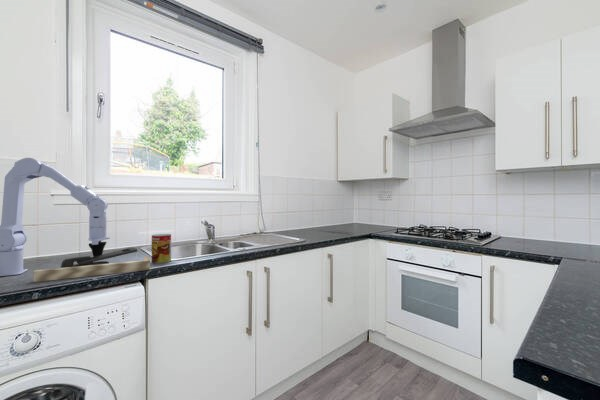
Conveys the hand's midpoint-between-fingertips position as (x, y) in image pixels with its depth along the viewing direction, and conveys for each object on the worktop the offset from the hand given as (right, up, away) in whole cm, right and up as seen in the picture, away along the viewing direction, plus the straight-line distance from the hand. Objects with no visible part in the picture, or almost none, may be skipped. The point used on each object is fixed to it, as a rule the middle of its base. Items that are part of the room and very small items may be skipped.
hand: (97, 260), depth 113 cm
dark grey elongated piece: (+4, -3, -3) cm, 5 cm away
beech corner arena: (+7, -3, -9) cm, 11 cm away
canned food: (+21, -3, +10) cm, 24 cm away
